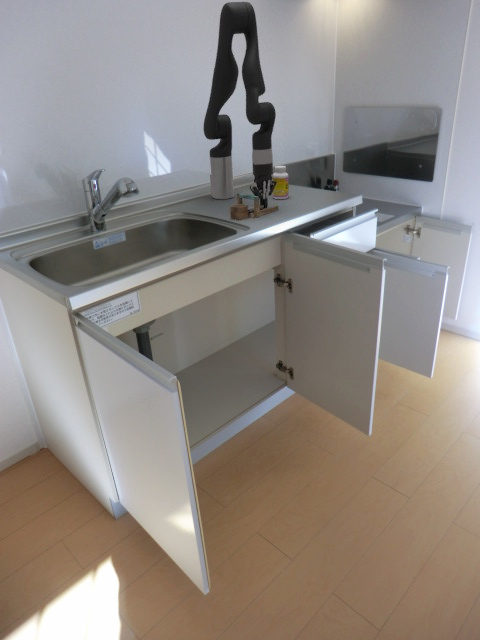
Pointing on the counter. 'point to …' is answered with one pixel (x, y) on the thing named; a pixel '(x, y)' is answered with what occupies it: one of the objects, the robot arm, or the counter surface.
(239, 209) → the walnut cube
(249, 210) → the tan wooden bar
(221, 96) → the robot arm
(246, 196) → the rail channel with trap bar
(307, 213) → the counter surface
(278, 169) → the supplement bottle
